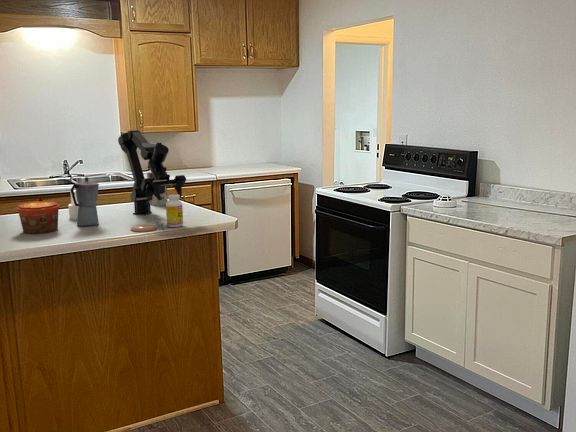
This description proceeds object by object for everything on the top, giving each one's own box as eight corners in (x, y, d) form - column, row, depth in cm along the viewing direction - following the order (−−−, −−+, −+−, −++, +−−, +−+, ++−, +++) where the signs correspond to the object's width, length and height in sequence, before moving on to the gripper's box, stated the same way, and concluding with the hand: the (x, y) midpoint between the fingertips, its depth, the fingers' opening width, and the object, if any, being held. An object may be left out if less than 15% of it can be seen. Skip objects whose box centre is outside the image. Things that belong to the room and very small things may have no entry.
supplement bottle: (179, 227, 230) (178, 196, 228) (164, 227, 231) (162, 196, 229) (185, 224, 236) (184, 194, 234) (170, 224, 238) (169, 193, 235)
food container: (18, 236, 217) (15, 209, 215) (19, 228, 231) (16, 202, 229) (62, 232, 223) (60, 206, 221) (61, 225, 238) (58, 199, 236)
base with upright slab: (94, 217, 253) (92, 190, 251) (75, 220, 247) (73, 193, 245) (84, 214, 259) (82, 188, 257) (65, 217, 253) (63, 191, 251)
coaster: (125, 230, 225) (125, 228, 225) (140, 225, 235) (140, 223, 234) (147, 232, 222) (146, 230, 222) (161, 227, 231) (160, 225, 231)
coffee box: (168, 204, 284) (166, 172, 281) (157, 206, 280) (155, 174, 276) (159, 202, 290) (157, 171, 287) (147, 203, 286) (146, 172, 283)
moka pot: (108, 221, 243) (105, 175, 239) (85, 229, 229) (81, 180, 225) (90, 220, 246) (86, 175, 242) (65, 227, 232) (61, 179, 228)
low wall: (155, 225, 235) (155, 219, 235) (157, 225, 236) (157, 219, 235) (161, 229, 227) (161, 223, 226) (163, 229, 227) (163, 223, 226)
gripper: (172, 180, 252) (185, 207, 245) (132, 183, 241) (144, 212, 234) (180, 163, 244) (193, 191, 237) (138, 166, 233) (151, 196, 226)
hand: (170, 198), depth 234 cm, fingers open, 9 cm apart
